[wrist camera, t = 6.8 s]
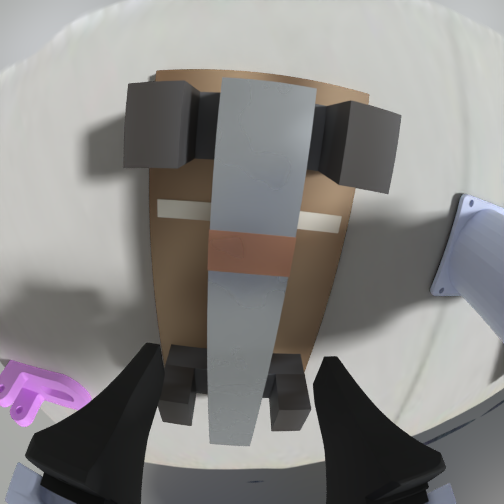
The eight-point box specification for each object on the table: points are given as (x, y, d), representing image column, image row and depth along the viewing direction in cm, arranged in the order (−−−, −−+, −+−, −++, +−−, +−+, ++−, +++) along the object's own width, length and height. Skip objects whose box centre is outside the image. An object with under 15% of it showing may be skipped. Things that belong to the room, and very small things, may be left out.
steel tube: (300, 98, 10) (317, 88, 7) (249, 415, 20) (250, 446, 17) (227, 89, 10) (221, 77, 7) (212, 412, 19) (209, 443, 17)
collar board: (365, 95, 12) (421, 85, 7) (297, 383, 22) (305, 438, 16) (159, 72, 12) (113, 47, 6) (168, 374, 21) (155, 428, 16)
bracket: (31, 386, 25) (12, 422, 19) (10, 358, 22) (-13, 394, 16) (99, 405, 25) (82, 452, 18) (78, 376, 22) (54, 426, 16)
